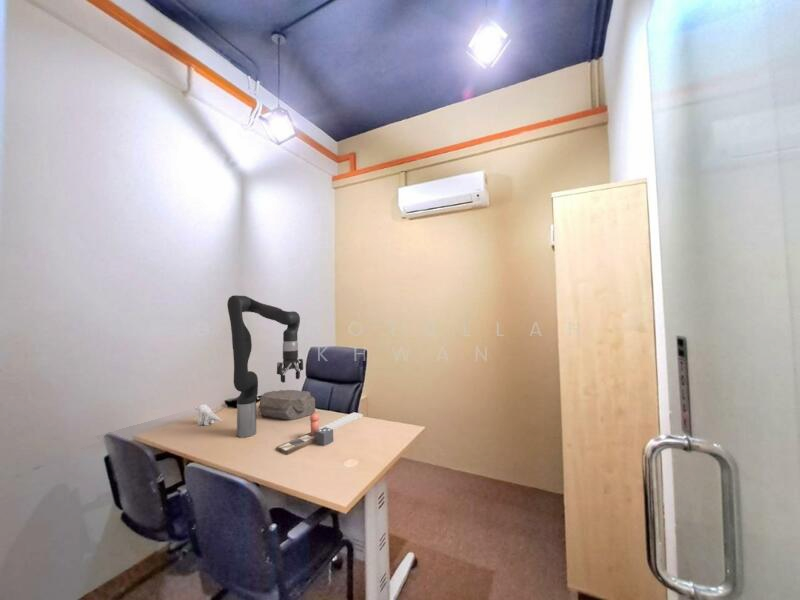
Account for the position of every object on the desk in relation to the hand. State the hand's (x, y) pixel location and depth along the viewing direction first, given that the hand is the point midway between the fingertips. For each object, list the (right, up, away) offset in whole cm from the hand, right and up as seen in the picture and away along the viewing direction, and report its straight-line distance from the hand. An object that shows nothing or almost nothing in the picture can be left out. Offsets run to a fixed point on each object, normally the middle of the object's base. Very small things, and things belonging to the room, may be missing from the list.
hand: (290, 380), depth 158 cm
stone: (-15, -32, +37) cm, 51 cm away
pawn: (+13, -28, -1) cm, 31 cm away
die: (+20, -29, -7) cm, 36 cm away
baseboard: (+22, -31, +20) cm, 43 cm away
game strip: (+8, -29, -7) cm, 31 cm away
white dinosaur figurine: (-56, -32, +21) cm, 68 cm away
